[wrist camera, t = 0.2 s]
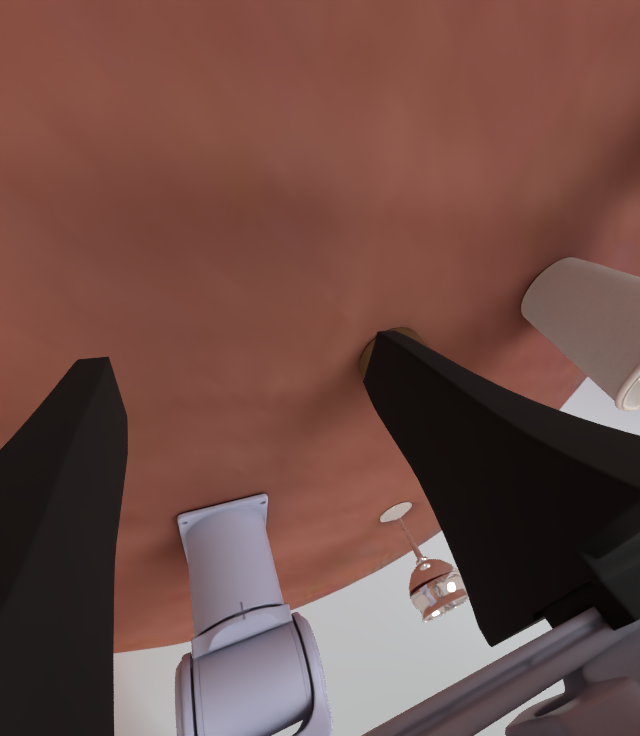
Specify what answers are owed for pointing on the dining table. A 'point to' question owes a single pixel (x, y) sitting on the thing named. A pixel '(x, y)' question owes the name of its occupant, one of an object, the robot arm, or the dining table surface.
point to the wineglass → (430, 576)
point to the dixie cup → (591, 323)
